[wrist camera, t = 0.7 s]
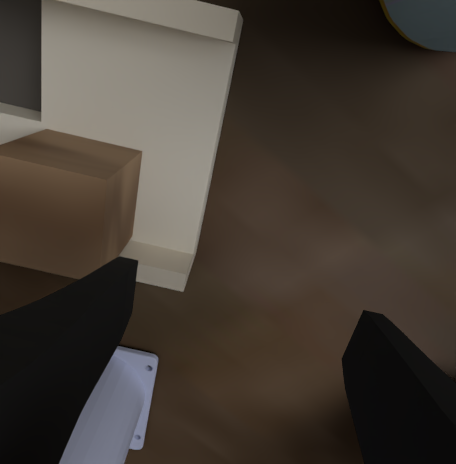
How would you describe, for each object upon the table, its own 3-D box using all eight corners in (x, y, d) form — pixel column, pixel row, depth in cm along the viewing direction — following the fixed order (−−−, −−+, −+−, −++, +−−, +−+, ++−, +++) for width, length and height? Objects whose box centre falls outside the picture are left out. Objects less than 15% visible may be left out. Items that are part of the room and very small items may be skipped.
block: (132, 236, 20) (98, 283, 15) (46, 216, 19) (-11, 259, 15) (142, 151, 18) (107, 179, 14) (46, 128, 18) (-18, 151, 13)
